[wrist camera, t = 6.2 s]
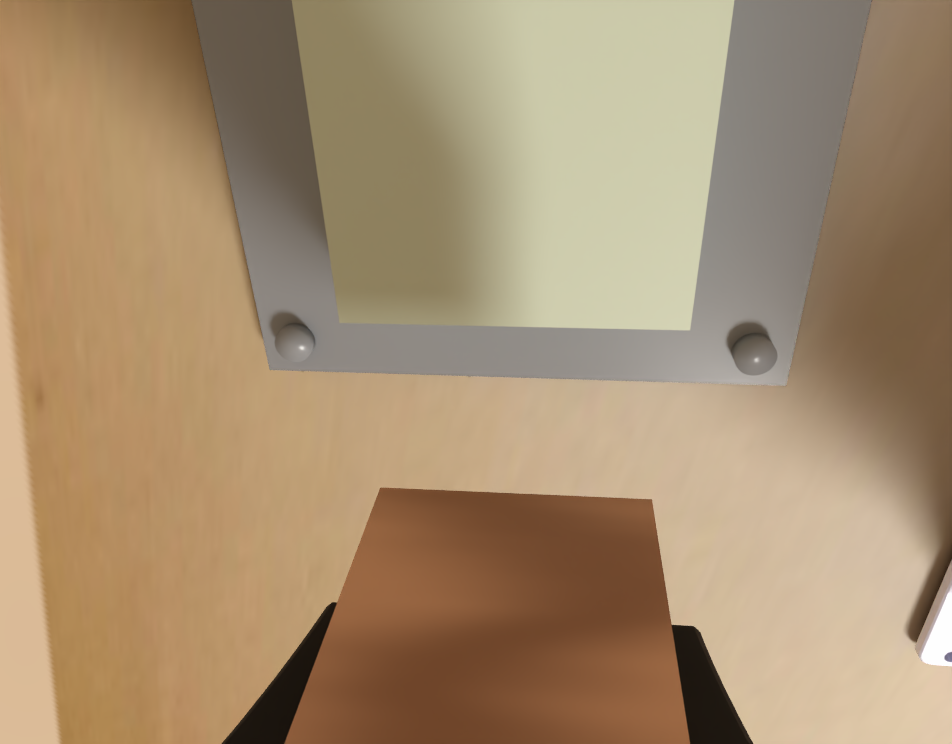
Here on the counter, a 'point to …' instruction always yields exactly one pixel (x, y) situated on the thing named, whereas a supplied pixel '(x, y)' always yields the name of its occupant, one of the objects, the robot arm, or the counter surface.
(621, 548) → the rust block
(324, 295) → the baseplate
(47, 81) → the counter surface
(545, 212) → the sage brick
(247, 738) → the robot arm
